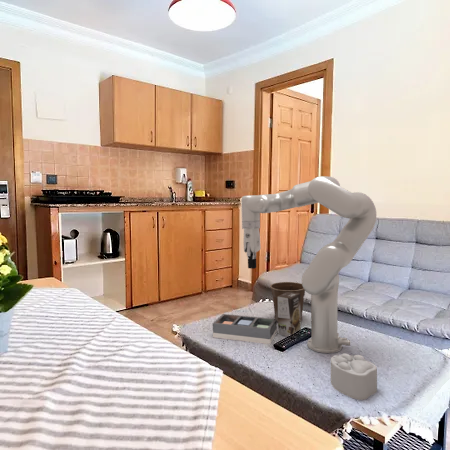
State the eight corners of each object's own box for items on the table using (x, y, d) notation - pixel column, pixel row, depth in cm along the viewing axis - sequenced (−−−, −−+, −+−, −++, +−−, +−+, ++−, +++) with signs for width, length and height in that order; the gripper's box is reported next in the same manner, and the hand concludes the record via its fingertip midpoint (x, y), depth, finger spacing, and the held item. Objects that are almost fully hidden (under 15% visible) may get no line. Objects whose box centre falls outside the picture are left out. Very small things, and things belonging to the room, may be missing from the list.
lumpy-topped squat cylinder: (360, 402, 97) (360, 372, 96) (322, 383, 107) (322, 356, 106) (381, 389, 103) (381, 361, 102) (343, 372, 113) (343, 346, 112)
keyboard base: (276, 332, 147) (276, 328, 147) (270, 344, 136) (270, 339, 136) (223, 326, 156) (223, 322, 156) (213, 337, 145) (212, 332, 144)
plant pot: (288, 311, 173) (288, 279, 171) (314, 321, 159) (313, 286, 158) (263, 319, 163) (262, 285, 162) (288, 329, 150) (287, 292, 149)
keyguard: (276, 328, 147) (276, 319, 147) (270, 339, 136) (269, 329, 136) (223, 322, 156) (223, 313, 155) (212, 332, 144) (212, 323, 144)
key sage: (270, 331, 144) (270, 325, 144) (267, 336, 140) (267, 330, 140) (258, 330, 146) (258, 324, 146) (255, 334, 142) (254, 329, 141)
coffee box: (291, 337, 142) (291, 298, 140) (277, 334, 146) (276, 296, 144) (301, 330, 149) (300, 293, 148) (287, 327, 153) (287, 291, 151)
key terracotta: (235, 327, 150) (235, 322, 150) (231, 332, 145) (231, 326, 145) (224, 326, 152) (224, 321, 151) (220, 330, 147) (220, 325, 147)
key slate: (252, 326, 147) (252, 320, 147) (249, 330, 142) (248, 325, 142) (241, 325, 149) (241, 319, 149) (237, 329, 144) (237, 323, 144)
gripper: (254, 226, 139) (255, 272, 140) (264, 223, 153) (265, 265, 154) (236, 226, 141) (238, 271, 143) (247, 223, 155) (248, 264, 157)
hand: (252, 268), depth 148 cm, fingers closed
